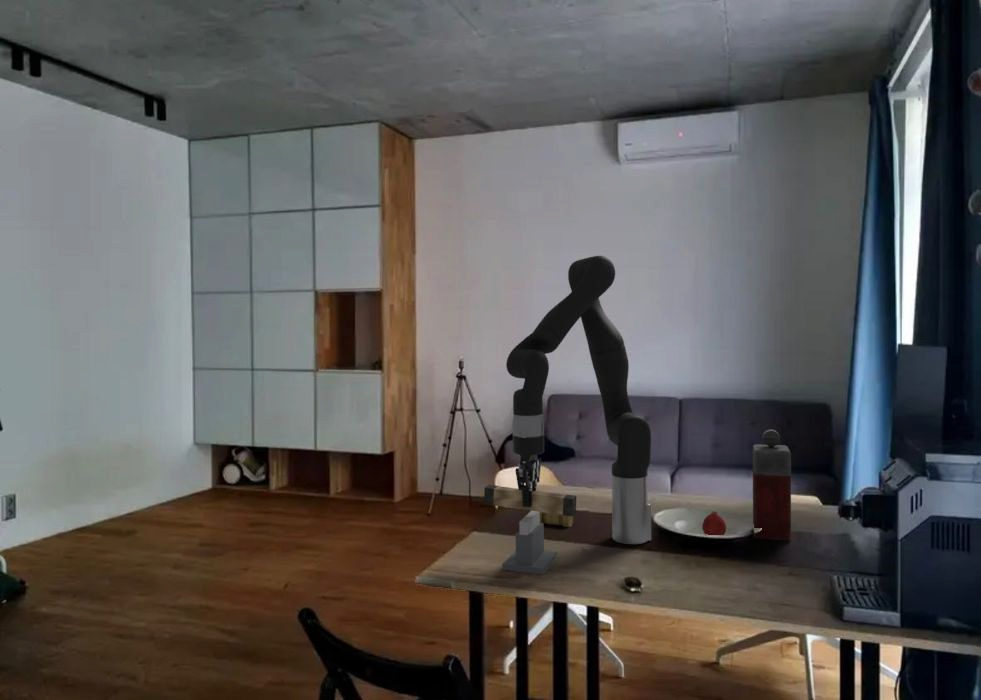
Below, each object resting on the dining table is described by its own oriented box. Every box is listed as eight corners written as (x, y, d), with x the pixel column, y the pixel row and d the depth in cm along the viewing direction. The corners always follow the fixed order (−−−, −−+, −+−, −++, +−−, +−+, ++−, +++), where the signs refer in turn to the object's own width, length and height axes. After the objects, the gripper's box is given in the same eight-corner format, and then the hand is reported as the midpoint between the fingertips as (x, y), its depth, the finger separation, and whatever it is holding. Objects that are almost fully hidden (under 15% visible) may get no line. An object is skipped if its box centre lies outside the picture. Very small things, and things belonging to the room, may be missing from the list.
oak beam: (484, 504, 166) (484, 487, 166) (488, 501, 169) (489, 484, 169) (572, 516, 159) (573, 499, 159) (575, 512, 162) (576, 495, 162)
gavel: (557, 496, 215) (588, 499, 211) (556, 511, 215) (588, 514, 211) (535, 509, 196) (568, 513, 192) (534, 525, 196) (568, 529, 192)
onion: (701, 543, 177) (701, 512, 177) (703, 536, 182) (703, 506, 182) (725, 545, 175) (725, 514, 175) (726, 538, 180) (726, 508, 180)
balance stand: (557, 557, 169) (556, 511, 168) (543, 574, 157) (543, 525, 157) (518, 553, 172) (517, 508, 171) (502, 570, 161) (501, 521, 160)
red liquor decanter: (787, 528, 188) (787, 426, 187) (791, 540, 177) (791, 433, 176) (752, 525, 191) (752, 425, 190) (754, 537, 180) (753, 432, 179)
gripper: (522, 427, 171) (523, 496, 172) (503, 437, 158) (505, 511, 159) (551, 429, 169) (552, 498, 169) (535, 438, 155) (536, 513, 156)
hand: (529, 504), depth 164 cm, fingers closed on oak beam, 3 cm apart
